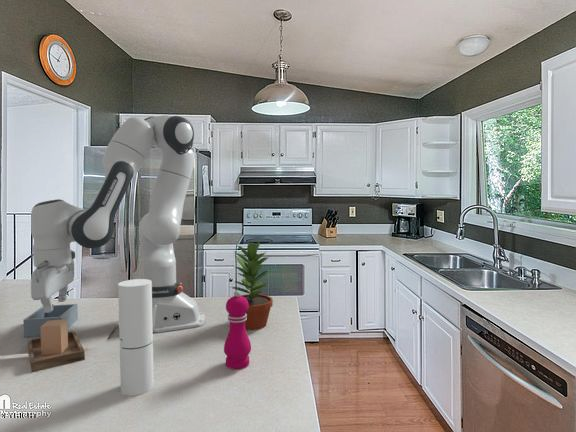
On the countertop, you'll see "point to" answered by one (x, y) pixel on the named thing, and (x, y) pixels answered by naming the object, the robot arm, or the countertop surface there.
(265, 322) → the potted plant
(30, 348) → the tray
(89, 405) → the countertop surface
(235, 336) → the pepper mill
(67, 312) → the blue-grey storage bin
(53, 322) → the block
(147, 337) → the cylindrical container
